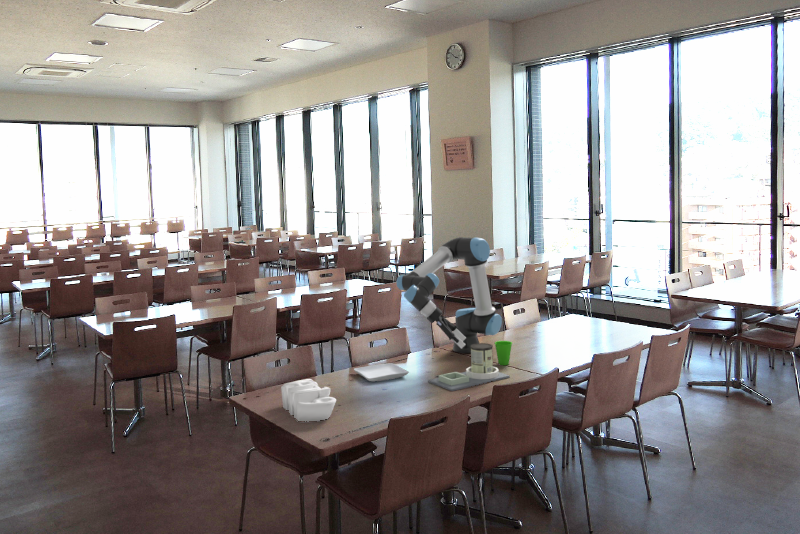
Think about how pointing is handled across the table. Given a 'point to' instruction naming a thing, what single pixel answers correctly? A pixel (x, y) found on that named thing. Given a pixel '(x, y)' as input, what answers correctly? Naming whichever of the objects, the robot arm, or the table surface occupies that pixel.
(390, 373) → the salad plate
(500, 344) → the cup
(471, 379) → the sorting board
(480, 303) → the robot arm
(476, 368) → the coffee can
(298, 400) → the wavy white extrusion
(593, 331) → the table surface
